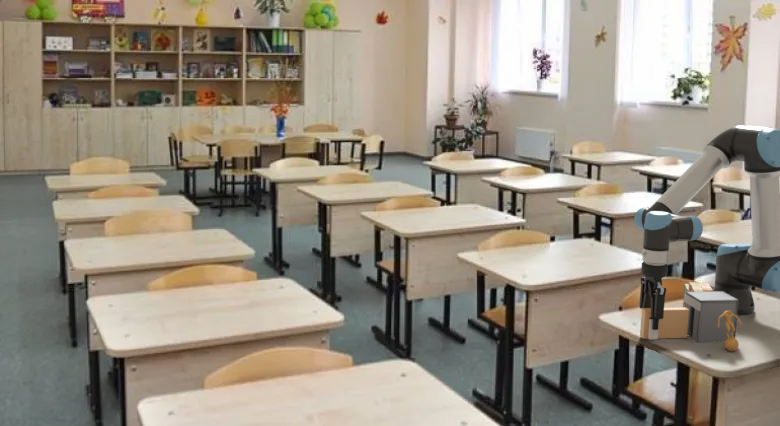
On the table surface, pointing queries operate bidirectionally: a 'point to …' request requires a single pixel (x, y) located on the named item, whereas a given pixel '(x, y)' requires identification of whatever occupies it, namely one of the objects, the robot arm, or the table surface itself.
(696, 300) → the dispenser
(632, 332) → the table surface
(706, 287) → the stack of blocks
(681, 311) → the light orange rectangular block
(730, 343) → the figurine
